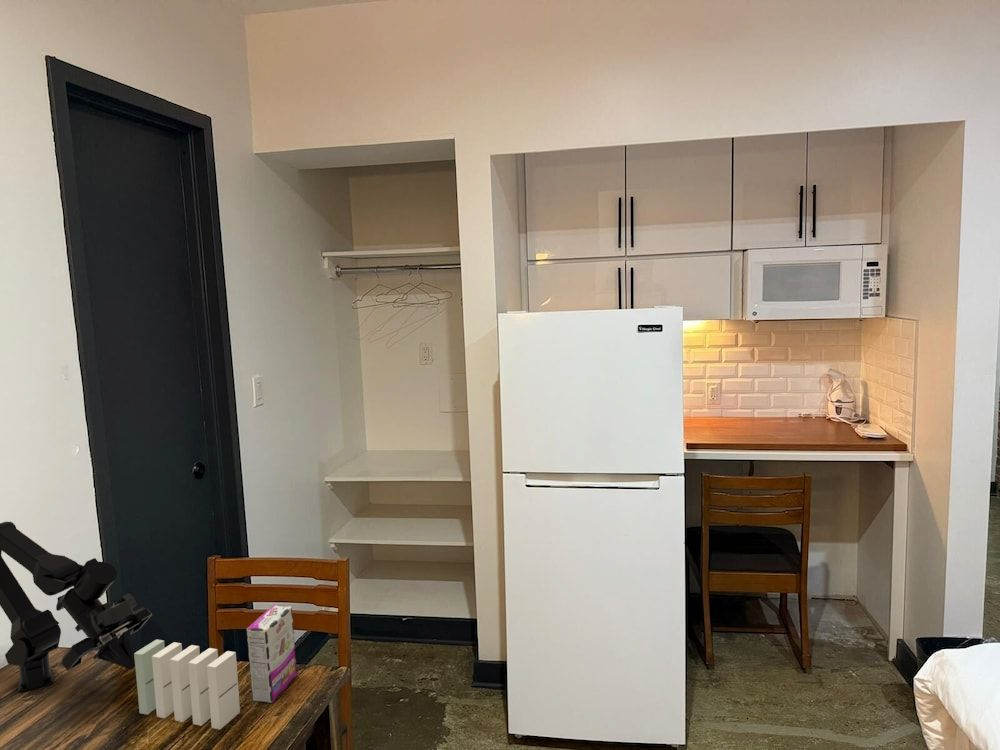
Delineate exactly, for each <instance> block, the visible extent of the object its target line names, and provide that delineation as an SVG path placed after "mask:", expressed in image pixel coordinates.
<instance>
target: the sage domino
mask: <svg viewBox="0 0 1000 750" xmlns="http://www.w3.org/2000/svg"><path fill="white" fill-rule="evenodd" d="M164 648H166V646H165V640H162V639H158V638H157V639H155V640H153V641H152V642H150V643H149V644H147V645H144V647H142V648H140V649H139V650H137V651H136V652H134V653H133V656H134V659H135V668H134V669H135V676H136V686H137V687H136V689H137V698H138V699H137V700H138V701H137V702H138V710H139V712H138V713H139V714H142V715H149V714H150V713H152V712H153V711H155V710H156V700H155V689H154V677H153V666H152V656H153V655H155V654H156V653H158V652H159V651H161V650H162V649H164Z"/></svg>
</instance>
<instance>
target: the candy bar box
mask: <svg viewBox="0 0 1000 750" xmlns="http://www.w3.org/2000/svg"><path fill="white" fill-rule="evenodd" d="M294 630H295V629H294V619H293V607H292V606H290V605H289V606H287V605H277V604H274V605H271V607H269V608H268V609H267V610H266V611H265V612H263V613H262V614H261V616H259V617H258V618H257V619H256V620H255V621H253V623H251V624H250V625H249V626H248V627H247V628H246V639H247V651H248V662H249V672H250V674H249V675H250V684H251V697H252V702H257V703H267V704H268V703H269V704H272V703H274V702H275V701H276V700H277V698H278V697H279V696H281V694H282V692H284V691H285V689H286V688H287V687H288V686H289V685H290V684H291V683H292V681H293V680H294V679H295V678H296V677H297V676H298V673H297V671H298V668H297V659H296V658H297V657H296V644H295V632H294ZM275 699H276V700H275Z"/></svg>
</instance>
